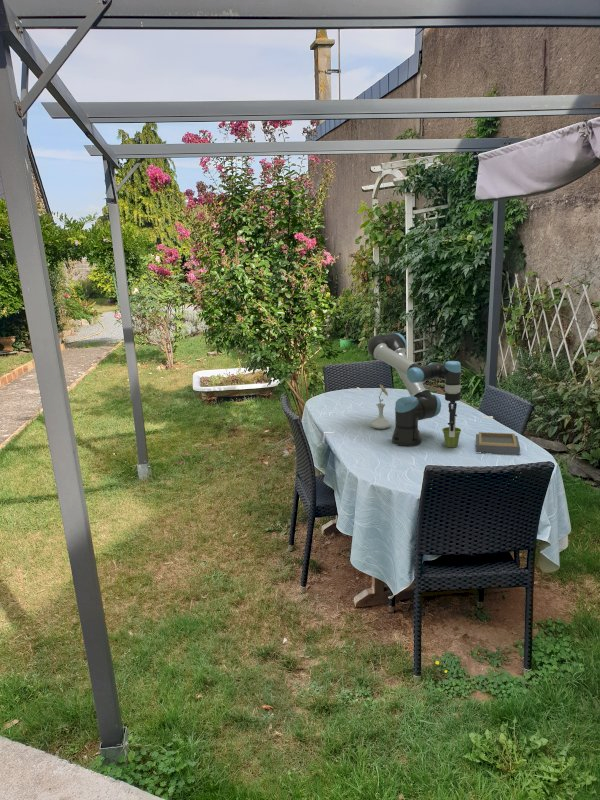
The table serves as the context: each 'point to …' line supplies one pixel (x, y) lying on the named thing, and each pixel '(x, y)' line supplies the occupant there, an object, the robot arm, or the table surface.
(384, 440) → the table surface
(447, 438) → the plant pot
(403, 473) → the table surface
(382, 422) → the flower in vase
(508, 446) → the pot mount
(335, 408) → the table surface
